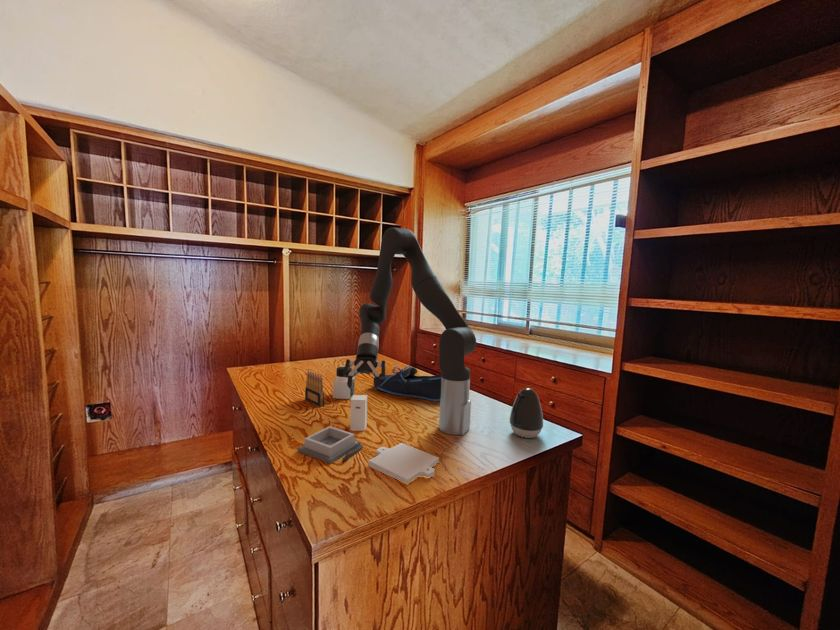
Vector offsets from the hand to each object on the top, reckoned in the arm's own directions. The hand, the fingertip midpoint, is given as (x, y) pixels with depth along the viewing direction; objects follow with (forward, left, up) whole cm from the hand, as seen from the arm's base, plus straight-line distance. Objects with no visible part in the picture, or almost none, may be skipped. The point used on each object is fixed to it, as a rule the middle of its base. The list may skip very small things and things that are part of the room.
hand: (362, 388), depth 116 cm
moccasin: (0, -32, -11) cm, 34 cm away
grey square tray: (-5, +21, -11) cm, 24 cm away
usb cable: (-13, +20, -11) cm, 26 cm away
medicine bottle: (+21, -14, -11) cm, 27 cm away
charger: (-3, +6, -11) cm, 13 cm away
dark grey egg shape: (-50, -19, -11) cm, 55 cm away
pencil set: (+25, -2, -11) cm, 27 cm away
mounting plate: (-27, +17, -12) cm, 34 cm away
